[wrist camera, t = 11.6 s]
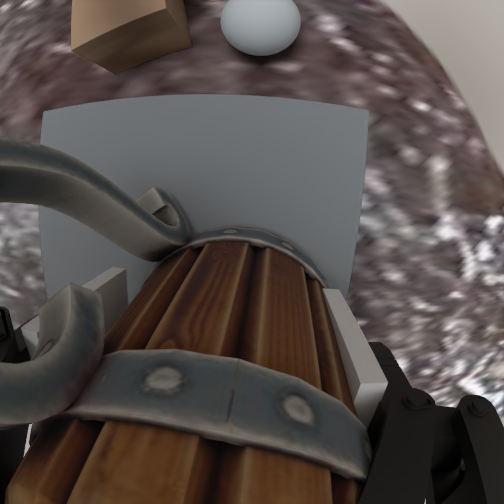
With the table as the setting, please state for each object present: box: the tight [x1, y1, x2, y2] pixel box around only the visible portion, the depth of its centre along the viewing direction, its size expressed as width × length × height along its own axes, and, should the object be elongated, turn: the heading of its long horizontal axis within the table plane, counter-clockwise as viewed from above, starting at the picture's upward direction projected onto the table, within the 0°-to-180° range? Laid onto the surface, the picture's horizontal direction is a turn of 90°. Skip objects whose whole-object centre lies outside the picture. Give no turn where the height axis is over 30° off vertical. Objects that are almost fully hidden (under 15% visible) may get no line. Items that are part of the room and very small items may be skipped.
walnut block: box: [71, 0, 192, 74], centre depth 11 cm, size 5×5×5 cm
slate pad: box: [39, 94, 369, 304], centre depth 17 cm, size 20×20×1 cm
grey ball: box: [221, 0, 301, 56], centre depth 12 cm, size 4×4×4 cm
